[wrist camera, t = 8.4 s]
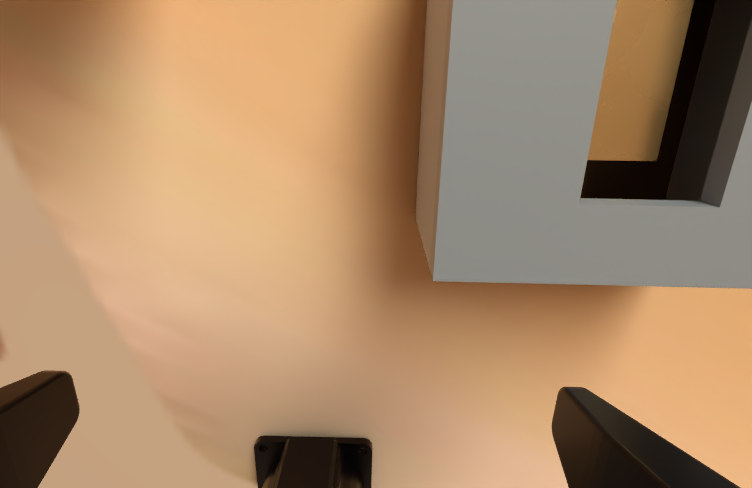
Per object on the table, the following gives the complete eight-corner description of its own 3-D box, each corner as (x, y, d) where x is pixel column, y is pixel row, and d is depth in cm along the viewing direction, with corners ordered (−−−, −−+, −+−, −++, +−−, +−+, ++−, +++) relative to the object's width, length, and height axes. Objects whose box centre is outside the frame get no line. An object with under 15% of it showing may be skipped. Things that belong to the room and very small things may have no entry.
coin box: (676, 223, 20) (827, 290, 13) (415, 217, 20) (433, 281, 13) (761, -92, 15) (1043, -229, 9) (432, -99, 16) (470, -240, 9)
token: (586, 143, 18) (656, 161, 14) (528, 142, 18) (579, 160, 14) (608, 13, 17) (698, -17, 12) (545, 13, 17) (610, -18, 12)
